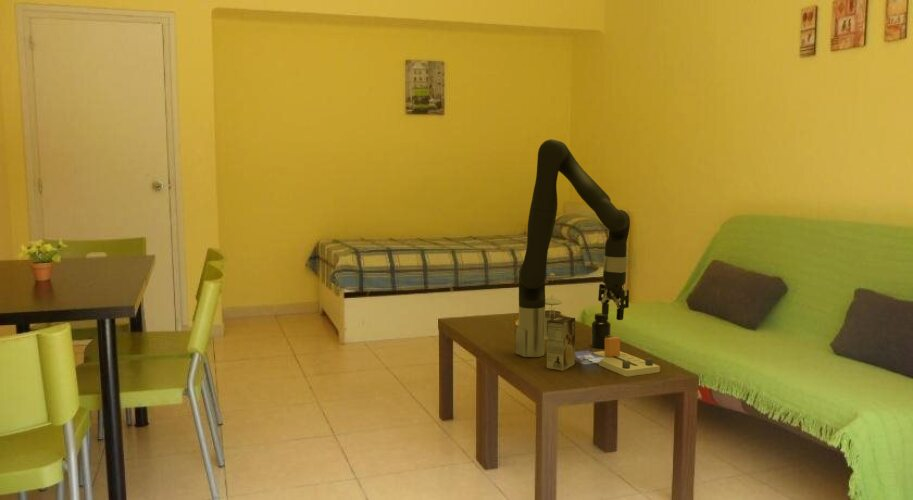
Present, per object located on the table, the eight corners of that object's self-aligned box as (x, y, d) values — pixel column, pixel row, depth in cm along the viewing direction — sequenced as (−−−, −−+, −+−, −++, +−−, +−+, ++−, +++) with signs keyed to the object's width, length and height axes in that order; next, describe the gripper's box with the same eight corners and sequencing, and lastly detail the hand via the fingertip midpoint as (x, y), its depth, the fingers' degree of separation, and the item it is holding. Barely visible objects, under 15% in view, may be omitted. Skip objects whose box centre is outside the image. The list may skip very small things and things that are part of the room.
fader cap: (608, 357, 260) (609, 339, 259) (604, 355, 263) (604, 337, 262) (619, 355, 262) (620, 338, 261) (615, 353, 264) (615, 336, 264)
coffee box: (557, 362, 262) (558, 315, 260) (575, 364, 259) (576, 317, 257) (546, 368, 255) (546, 320, 253) (563, 371, 251) (564, 322, 249)
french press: (563, 334, 304) (564, 271, 301) (564, 341, 293) (565, 275, 290) (538, 333, 305) (539, 271, 302) (538, 340, 294) (539, 275, 291)
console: (626, 376, 244) (626, 364, 244) (584, 359, 266) (584, 347, 266) (659, 372, 250) (660, 360, 249) (615, 355, 271) (616, 344, 271)
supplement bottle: (610, 349, 280) (610, 316, 279) (590, 348, 282) (591, 315, 280) (610, 344, 287) (610, 312, 286) (591, 343, 288) (592, 312, 287)
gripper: (593, 267, 264) (591, 313, 265) (617, 273, 251) (615, 322, 252) (611, 266, 266) (609, 312, 268) (636, 272, 253) (634, 321, 255)
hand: (612, 317), depth 260 cm, fingers open, 8 cm apart
